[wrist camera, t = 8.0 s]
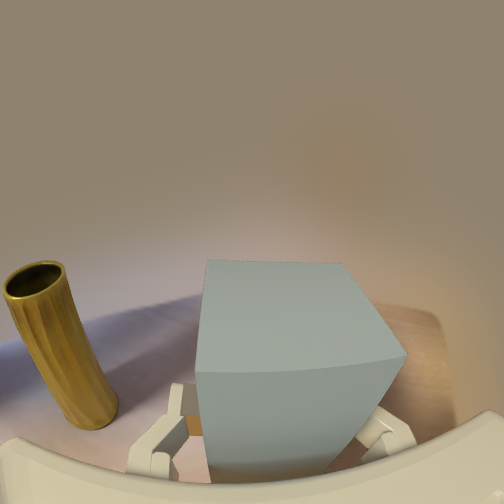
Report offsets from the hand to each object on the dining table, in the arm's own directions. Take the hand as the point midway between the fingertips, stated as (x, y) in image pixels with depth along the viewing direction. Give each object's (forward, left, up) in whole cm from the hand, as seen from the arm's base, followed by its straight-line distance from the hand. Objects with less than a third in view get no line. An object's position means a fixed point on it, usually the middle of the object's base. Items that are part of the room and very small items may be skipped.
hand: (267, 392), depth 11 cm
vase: (-16, +3, -13) cm, 20 cm away
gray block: (0, -1, -7) cm, 7 cm away
